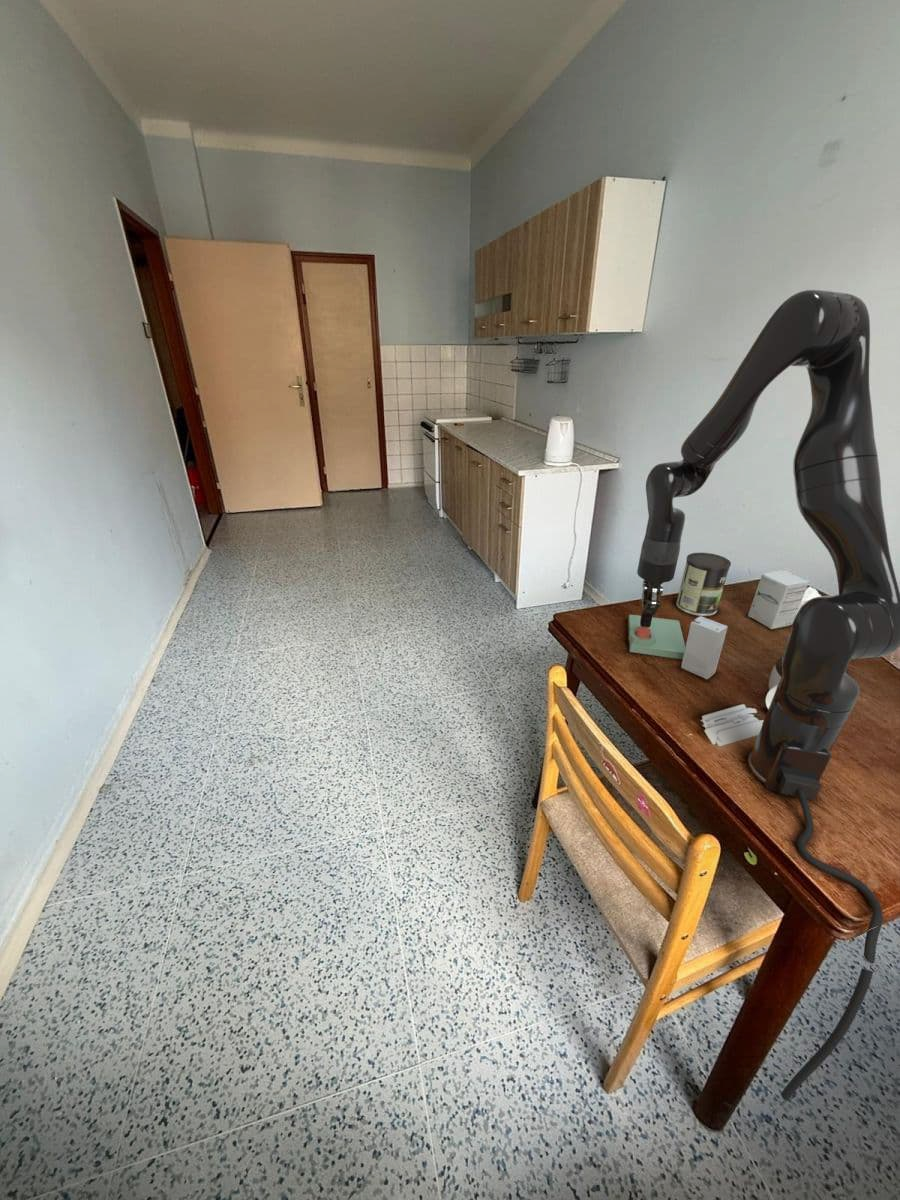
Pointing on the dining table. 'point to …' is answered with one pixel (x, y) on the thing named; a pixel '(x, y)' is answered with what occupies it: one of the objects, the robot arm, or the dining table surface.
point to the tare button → (643, 632)
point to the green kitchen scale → (657, 638)
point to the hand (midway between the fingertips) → (644, 625)
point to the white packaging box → (777, 599)
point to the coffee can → (702, 583)
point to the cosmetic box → (703, 647)
